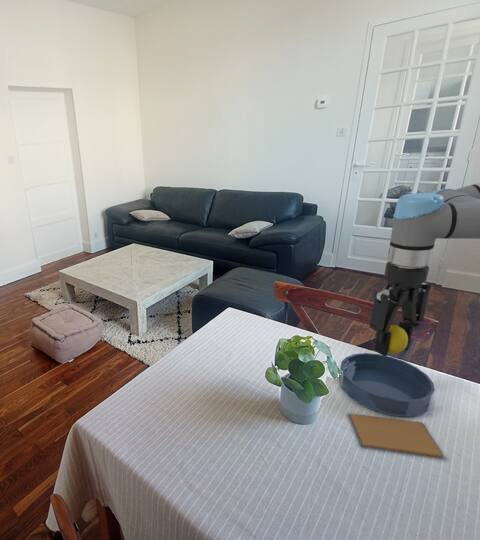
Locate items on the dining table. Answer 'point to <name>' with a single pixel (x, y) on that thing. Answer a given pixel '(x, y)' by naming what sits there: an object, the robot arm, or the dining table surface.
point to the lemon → (397, 339)
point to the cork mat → (395, 435)
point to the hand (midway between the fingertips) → (391, 349)
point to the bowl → (386, 384)
